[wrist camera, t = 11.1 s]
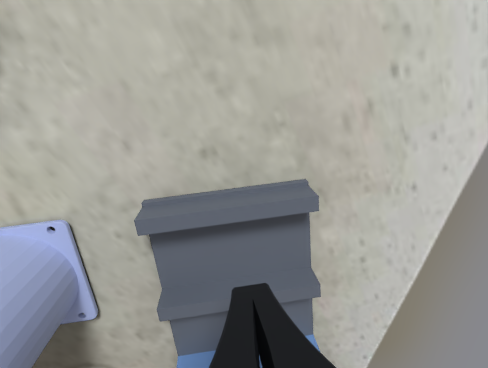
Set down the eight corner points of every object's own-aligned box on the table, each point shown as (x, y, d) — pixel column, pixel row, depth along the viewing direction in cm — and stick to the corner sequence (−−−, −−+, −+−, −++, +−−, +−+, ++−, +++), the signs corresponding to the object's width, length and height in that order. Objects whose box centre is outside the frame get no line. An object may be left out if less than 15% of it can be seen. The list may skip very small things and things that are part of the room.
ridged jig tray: (194, 414, 26) (192, 448, 23) (143, 200, 19) (133, 216, 17) (313, 393, 27) (323, 424, 24) (305, 179, 20) (318, 191, 17)
